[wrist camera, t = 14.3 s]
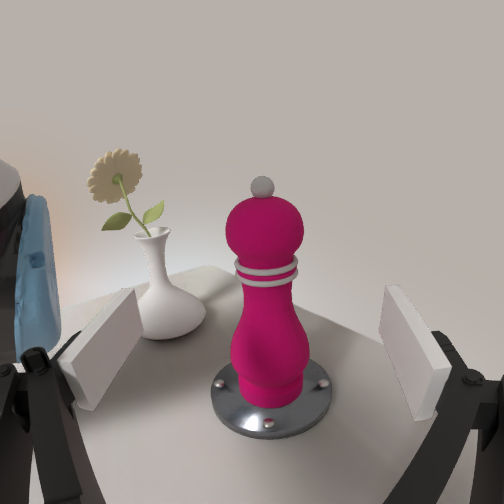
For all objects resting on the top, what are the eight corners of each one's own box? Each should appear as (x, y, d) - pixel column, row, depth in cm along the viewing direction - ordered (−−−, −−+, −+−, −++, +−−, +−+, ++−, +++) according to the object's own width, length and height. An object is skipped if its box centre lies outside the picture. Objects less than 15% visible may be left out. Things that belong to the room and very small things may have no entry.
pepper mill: (309, 412, 26) (315, 180, 20) (229, 411, 27) (202, 185, 21) (306, 364, 33) (307, 170, 27) (239, 364, 34) (222, 174, 27)
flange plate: (201, 436, 25) (198, 425, 25) (222, 359, 37) (221, 348, 36) (336, 437, 24) (338, 426, 24) (325, 358, 36) (325, 347, 35)
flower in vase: (192, 300, 52) (173, 142, 44) (220, 332, 42) (199, 136, 34) (115, 320, 46) (84, 155, 38) (126, 360, 37) (82, 152, 29)
